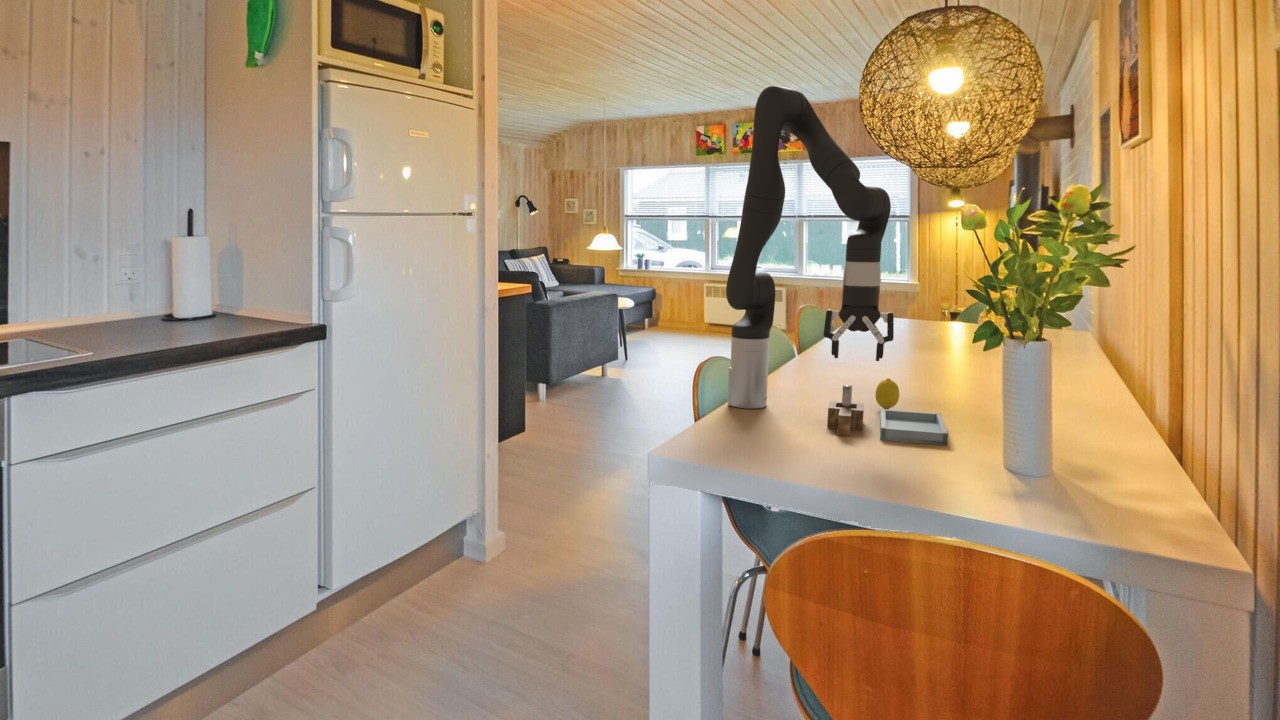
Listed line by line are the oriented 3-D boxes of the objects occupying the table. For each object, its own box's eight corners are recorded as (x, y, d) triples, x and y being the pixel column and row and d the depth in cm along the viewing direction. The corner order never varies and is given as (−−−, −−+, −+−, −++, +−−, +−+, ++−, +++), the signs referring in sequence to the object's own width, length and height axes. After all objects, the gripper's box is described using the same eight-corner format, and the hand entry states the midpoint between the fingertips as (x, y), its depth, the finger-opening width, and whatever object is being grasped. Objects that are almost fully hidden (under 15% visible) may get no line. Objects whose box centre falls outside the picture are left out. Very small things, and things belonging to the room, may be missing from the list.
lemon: (895, 408, 183) (897, 376, 182) (900, 413, 178) (902, 380, 176) (872, 407, 184) (874, 375, 182) (877, 412, 178) (879, 380, 177)
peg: (840, 425, 166) (842, 386, 164) (840, 423, 168) (843, 384, 166) (849, 426, 165) (852, 387, 164) (850, 424, 167) (852, 385, 166)
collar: (825, 434, 158) (826, 414, 158) (829, 419, 171) (830, 400, 170) (861, 437, 156) (863, 417, 155) (862, 422, 169) (864, 403, 168)
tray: (880, 439, 155) (881, 428, 154) (879, 419, 172) (880, 408, 171) (947, 445, 151) (948, 433, 151) (939, 424, 168) (940, 413, 168)
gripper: (825, 283, 154) (821, 359, 157) (897, 285, 150) (891, 364, 153) (828, 281, 161) (824, 354, 164) (897, 283, 157) (892, 358, 160)
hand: (856, 359), depth 158 cm, fingers open, 8 cm apart
